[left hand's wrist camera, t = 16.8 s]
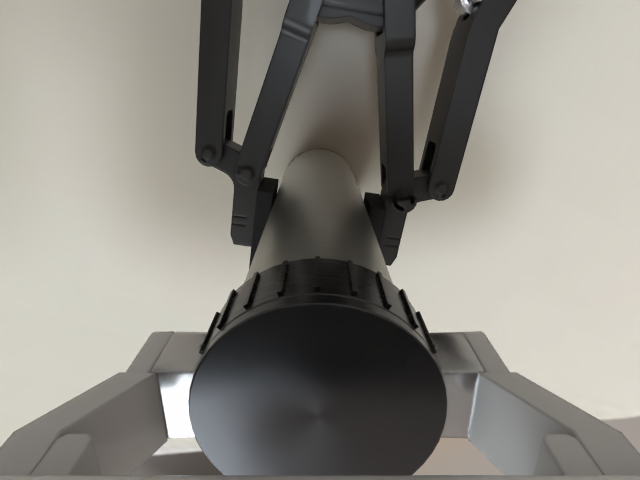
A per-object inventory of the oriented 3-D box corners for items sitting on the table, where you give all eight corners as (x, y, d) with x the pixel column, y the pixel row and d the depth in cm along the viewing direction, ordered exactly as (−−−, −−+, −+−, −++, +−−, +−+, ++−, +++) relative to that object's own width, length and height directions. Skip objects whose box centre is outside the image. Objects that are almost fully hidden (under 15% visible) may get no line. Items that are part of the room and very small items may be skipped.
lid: (197, 254, 9) (166, 299, 8) (437, 253, 9) (467, 298, 8) (219, 436, 11) (199, 509, 9) (418, 435, 11) (438, 509, 9)
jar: (355, 147, 26) (431, 295, 8) (355, 218, 28) (419, 468, 10) (280, 150, 26) (197, 302, 8) (285, 221, 28) (224, 473, 10)
